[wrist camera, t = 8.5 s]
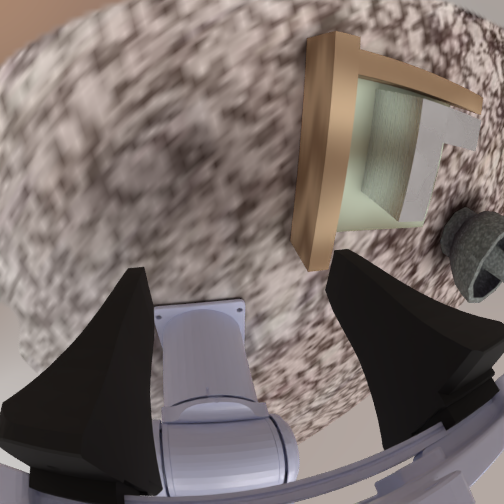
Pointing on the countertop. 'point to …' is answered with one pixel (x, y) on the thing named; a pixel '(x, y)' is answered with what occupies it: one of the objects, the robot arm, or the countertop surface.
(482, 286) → the mortar and pestle
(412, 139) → the bracket
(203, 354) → the robot arm
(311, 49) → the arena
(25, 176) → the countertop surface
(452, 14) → the countertop surface
